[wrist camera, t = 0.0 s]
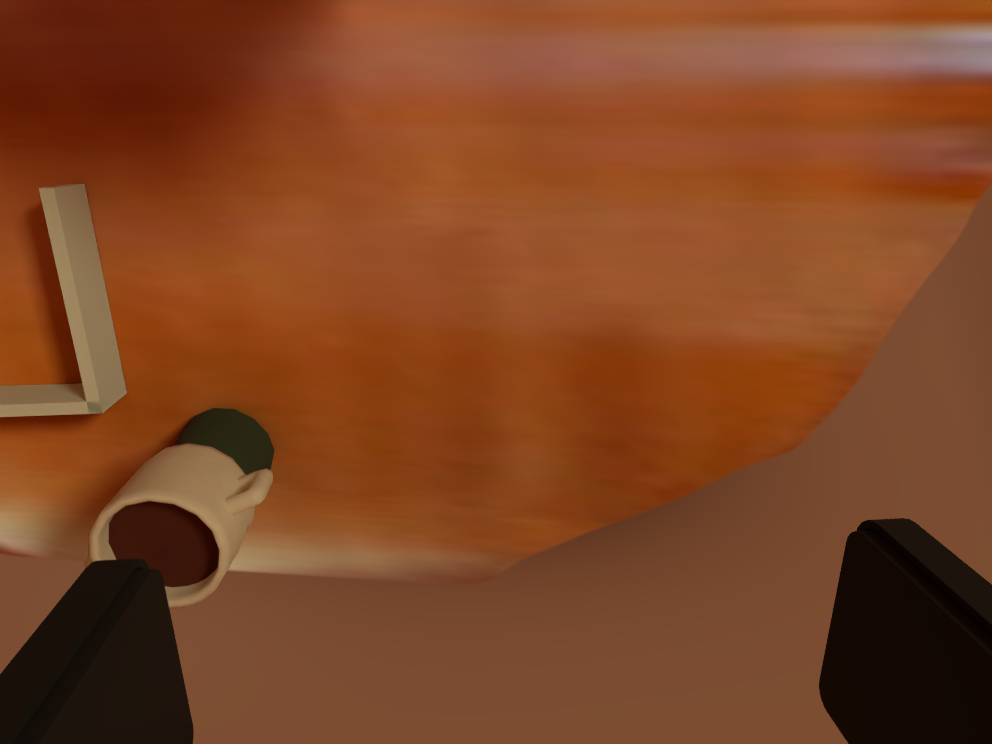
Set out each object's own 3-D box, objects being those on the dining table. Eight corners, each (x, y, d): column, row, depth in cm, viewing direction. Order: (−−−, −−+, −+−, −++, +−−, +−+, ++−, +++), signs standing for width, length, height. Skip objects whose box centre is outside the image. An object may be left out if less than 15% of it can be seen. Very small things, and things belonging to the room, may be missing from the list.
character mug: (187, 515, 49) (104, 642, 37) (132, 433, 46) (23, 539, 34) (324, 458, 48) (286, 568, 36) (275, 372, 46) (217, 458, 34)
